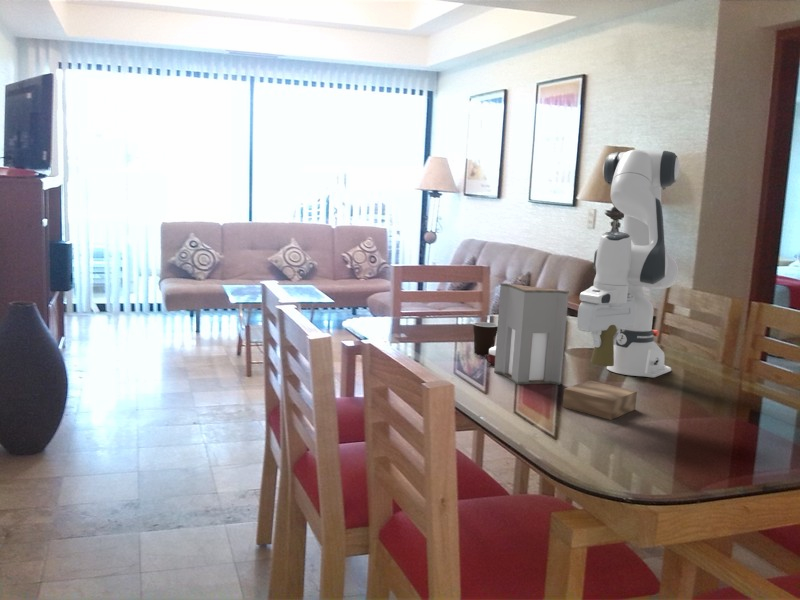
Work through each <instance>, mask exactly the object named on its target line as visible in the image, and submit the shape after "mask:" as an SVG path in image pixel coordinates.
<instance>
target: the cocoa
mask: <svg viewBox="0 0 800 600" xmlns="http://www.w3.org/2000/svg"><path fill="white" fill-rule="evenodd" d="M495 355H496V345H494V347H491V348H490V349H489V353H488V355H485V356H486V357H485V359H486V361H487V363H489V364H491V365H492V366H495Z"/></svg>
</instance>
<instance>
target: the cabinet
mask: <svg viewBox="0 0 800 600" xmlns="http://www.w3.org/2000/svg"><path fill="white" fill-rule="evenodd" d="M499 289H500V290H499V300H498V301H499V302H498V303H499V304H498V316H497V325H498V328H497V335H496V340H495V346H496V355H495V365H494V370H493V373H494V374H500V375H502V376H504V377H506V378H507V379H509V380H510V381H512V382H513V383H515V384H516V385H534V384H535V385H537V384H539V385H540V384H553V385H558V386H559V385H561V384H562V375H563V374H562V372H563V363H564V362H563V361H564V351H565V349H564V348H565V339H566V338H565V337H566V327H567V316H568V307H569V306H568V305H569V293H570V292H569V290H563V289H554V288H546V287H539V286H530V285H521V284H514V283H506V282H505V283H504V282H503V283H500V288H499Z"/></svg>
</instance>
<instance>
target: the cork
mask: <svg viewBox="0 0 800 600" xmlns="http://www.w3.org/2000/svg"><path fill="white" fill-rule="evenodd" d="M616 331H617V328H616V326H615V325H610V326H609V328H608V329H607V330H604V331H602V332H601V335H600V339H601V340H602V341H603V343H602V346H601V347H594V346H593V352H592V355H591V359H590V364H593V365H597V366H601V367H602V366H603V367H607V366H614V335H615V334H616Z"/></svg>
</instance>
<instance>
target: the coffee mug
mask: <svg viewBox="0 0 800 600" xmlns="http://www.w3.org/2000/svg"><path fill="white" fill-rule="evenodd" d="M472 328H473V345H474V346H473V351H474V353H475V354H477V355H480V356H487V355H488V353H489V349H490V348H491V347H494V346H496V341H497V328H498V323H493V322H486V321H477V322H476V321H475V322H473V324H472Z"/></svg>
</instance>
